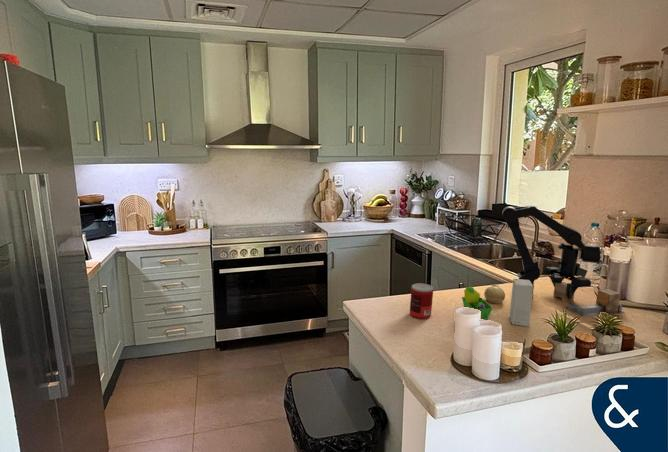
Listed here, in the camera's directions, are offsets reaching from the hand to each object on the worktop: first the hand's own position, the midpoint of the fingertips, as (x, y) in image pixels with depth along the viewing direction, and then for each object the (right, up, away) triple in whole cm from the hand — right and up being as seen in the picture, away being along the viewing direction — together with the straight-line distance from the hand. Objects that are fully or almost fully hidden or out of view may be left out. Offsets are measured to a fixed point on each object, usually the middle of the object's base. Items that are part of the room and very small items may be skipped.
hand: (563, 296), depth 169 cm
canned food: (-64, -4, -20) cm, 67 cm away
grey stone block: (0, -2, 0) cm, 2 cm away
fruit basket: (-44, -4, -18) cm, 47 cm away
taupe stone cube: (+11, -3, -10) cm, 15 cm away
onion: (-30, -2, -3) cm, 30 cm away
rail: (+5, -4, -11) cm, 13 cm away
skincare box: (-29, -5, -22) cm, 37 cm away
